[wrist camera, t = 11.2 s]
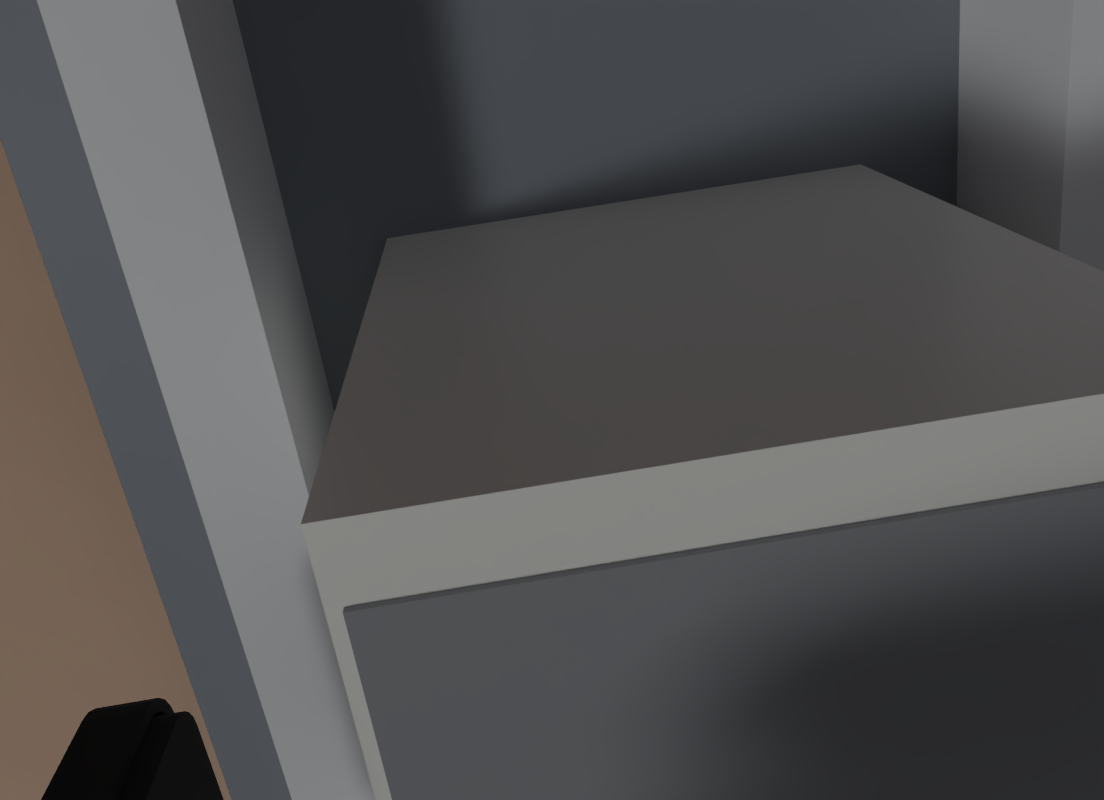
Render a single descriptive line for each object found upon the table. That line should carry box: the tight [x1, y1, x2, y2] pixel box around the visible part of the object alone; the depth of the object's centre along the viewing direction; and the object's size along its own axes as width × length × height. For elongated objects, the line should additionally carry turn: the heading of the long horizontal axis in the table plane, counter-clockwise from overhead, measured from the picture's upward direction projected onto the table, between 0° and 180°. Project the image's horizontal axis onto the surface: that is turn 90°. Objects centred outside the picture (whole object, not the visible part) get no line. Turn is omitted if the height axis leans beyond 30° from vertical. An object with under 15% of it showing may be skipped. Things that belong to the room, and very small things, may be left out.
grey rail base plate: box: [0, 0, 1104, 800], centre depth 12 cm, size 14×12×3 cm
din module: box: [301, 164, 1104, 800], centre depth 9 cm, size 8×5×6 cm, turn 8°
